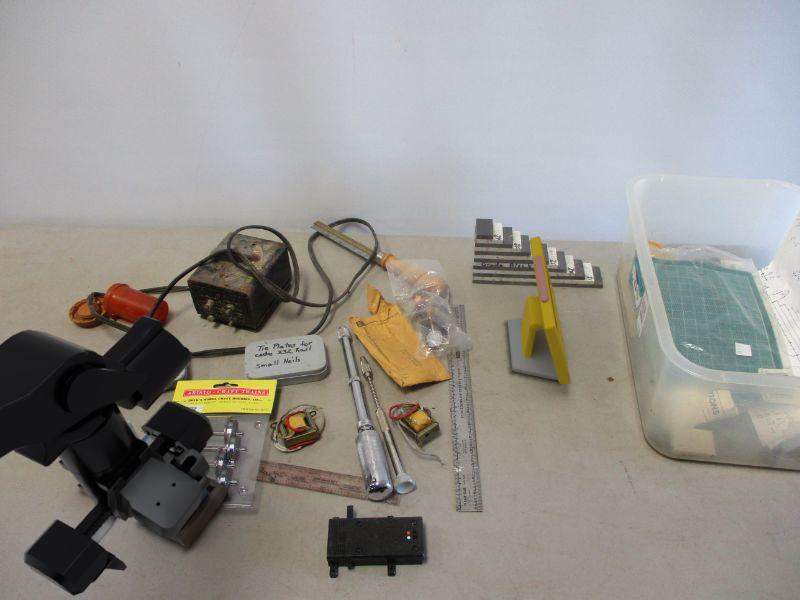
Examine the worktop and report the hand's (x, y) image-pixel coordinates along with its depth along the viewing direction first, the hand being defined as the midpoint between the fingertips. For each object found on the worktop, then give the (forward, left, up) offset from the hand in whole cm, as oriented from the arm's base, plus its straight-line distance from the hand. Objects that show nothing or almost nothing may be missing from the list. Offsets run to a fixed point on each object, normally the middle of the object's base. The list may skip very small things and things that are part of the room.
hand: (154, 527), depth 62 cm
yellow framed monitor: (+37, -47, -13) cm, 61 cm away
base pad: (+8, +3, -13) cm, 16 cm away
